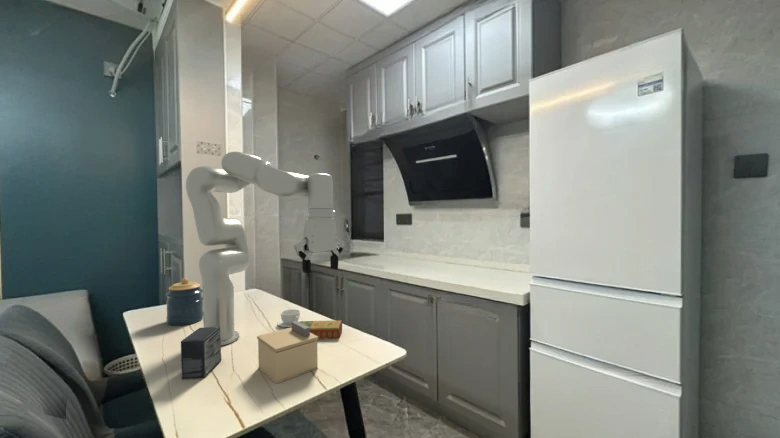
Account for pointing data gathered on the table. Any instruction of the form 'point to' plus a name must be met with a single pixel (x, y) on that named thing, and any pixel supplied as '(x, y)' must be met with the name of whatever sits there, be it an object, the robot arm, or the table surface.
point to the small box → (200, 352)
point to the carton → (325, 328)
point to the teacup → (289, 318)
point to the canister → (184, 303)
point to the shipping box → (287, 361)
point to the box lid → (288, 337)
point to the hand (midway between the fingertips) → (321, 270)
